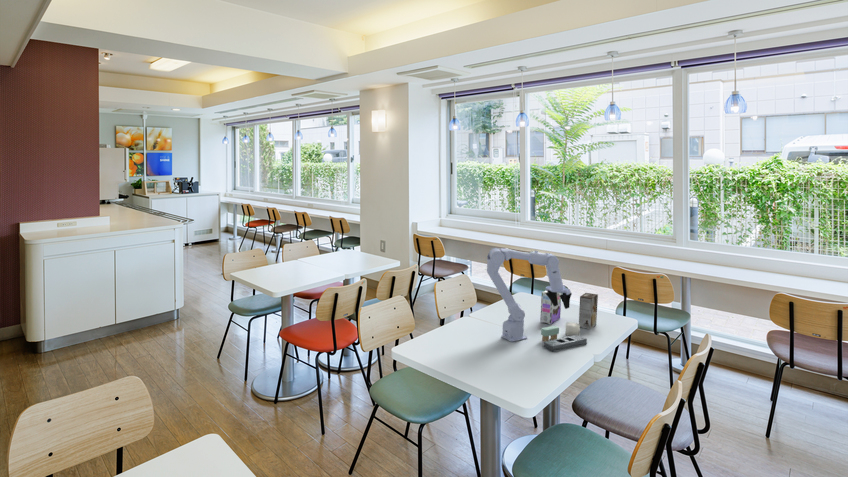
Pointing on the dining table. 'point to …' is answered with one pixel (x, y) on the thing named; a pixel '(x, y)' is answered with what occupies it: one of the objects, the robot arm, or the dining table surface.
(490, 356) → the dining table surface
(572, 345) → the rail
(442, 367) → the dining table surface
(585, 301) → the coffee box
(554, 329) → the green toy bench
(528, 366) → the dining table surface
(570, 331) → the white dome cap
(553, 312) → the candy box
